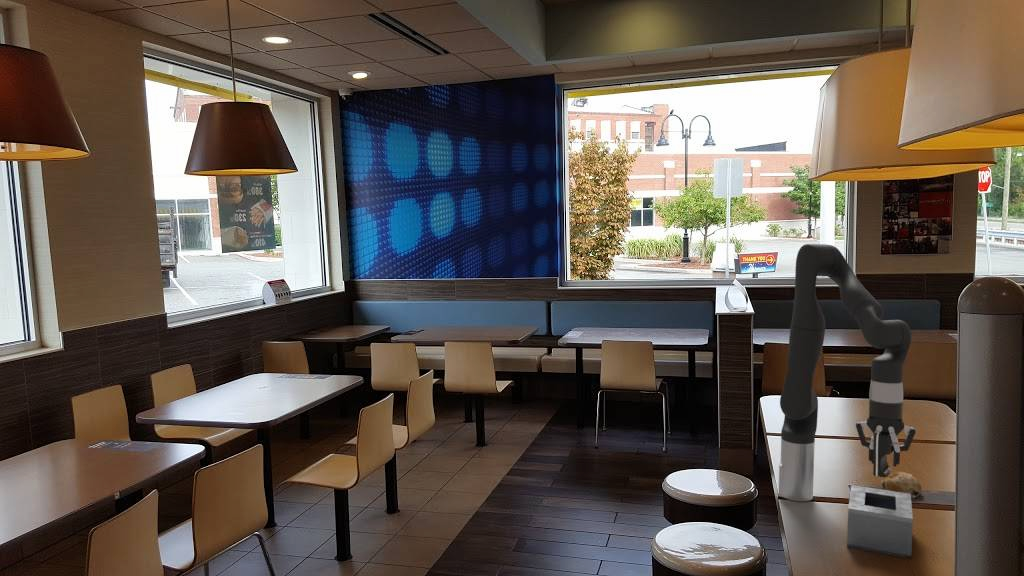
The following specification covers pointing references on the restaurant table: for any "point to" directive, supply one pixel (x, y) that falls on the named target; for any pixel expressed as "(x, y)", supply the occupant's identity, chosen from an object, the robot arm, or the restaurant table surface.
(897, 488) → the bread roll
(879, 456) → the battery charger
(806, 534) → the restaurant table surface
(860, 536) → the box
